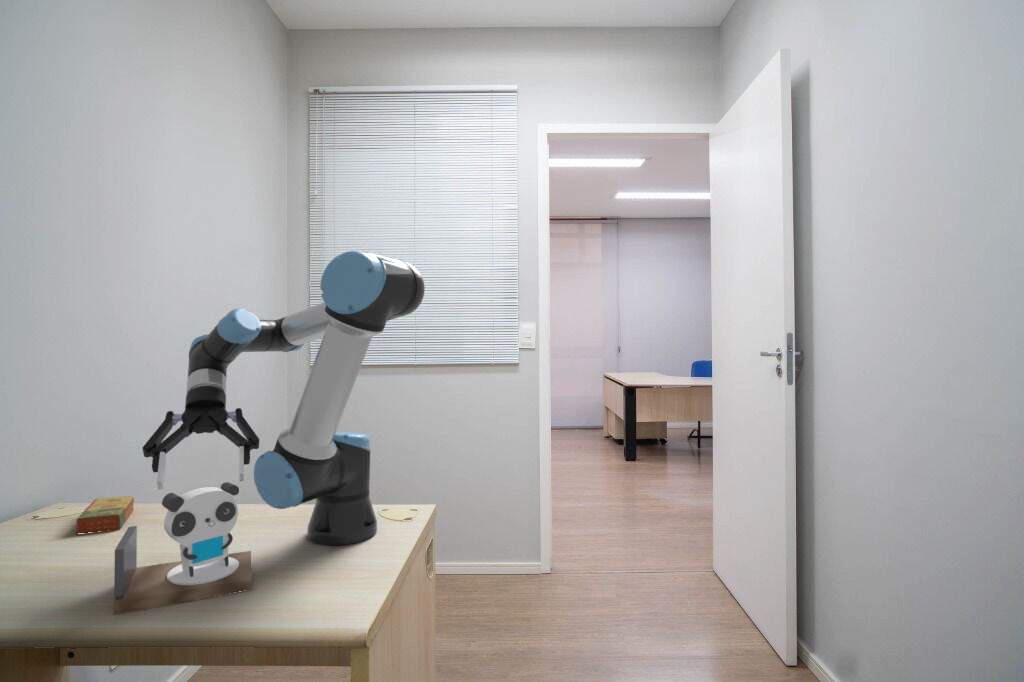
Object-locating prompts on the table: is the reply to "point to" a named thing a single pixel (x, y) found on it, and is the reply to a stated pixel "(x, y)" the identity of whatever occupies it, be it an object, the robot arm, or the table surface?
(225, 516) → the panda figurine
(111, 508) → the carton
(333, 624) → the table surface
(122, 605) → the shelf board
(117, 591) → the bookend
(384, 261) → the robot arm
